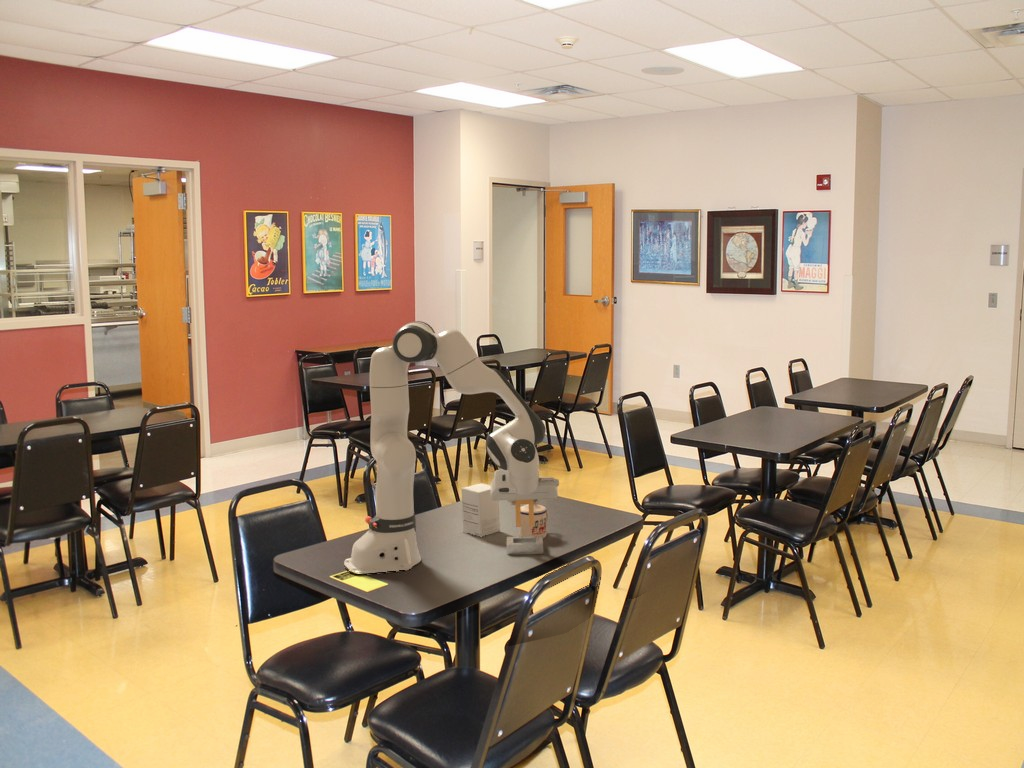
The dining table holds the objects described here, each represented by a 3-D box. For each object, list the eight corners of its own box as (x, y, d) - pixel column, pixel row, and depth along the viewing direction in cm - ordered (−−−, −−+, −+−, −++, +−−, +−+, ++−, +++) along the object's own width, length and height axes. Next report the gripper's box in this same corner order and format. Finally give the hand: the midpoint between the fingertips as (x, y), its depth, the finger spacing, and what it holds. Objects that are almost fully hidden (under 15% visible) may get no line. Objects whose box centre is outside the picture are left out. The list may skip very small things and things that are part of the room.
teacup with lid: (534, 542, 278) (534, 506, 276) (513, 536, 284) (512, 501, 282) (558, 533, 287) (558, 498, 285) (537, 528, 293) (536, 493, 291)
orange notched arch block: (533, 523, 271) (532, 485, 269) (534, 526, 268) (533, 487, 266) (516, 524, 271) (514, 485, 269) (516, 526, 268) (514, 488, 266)
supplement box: (482, 526, 296) (481, 482, 294) (500, 531, 290) (499, 486, 288) (461, 532, 290) (460, 487, 288) (480, 537, 284) (479, 492, 282)
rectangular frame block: (543, 553, 266) (543, 544, 266) (506, 554, 266) (506, 544, 266) (542, 545, 274) (542, 536, 274) (507, 546, 274) (506, 536, 274)
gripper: (558, 468, 260) (557, 492, 271) (489, 470, 260) (491, 494, 271) (559, 487, 256) (559, 510, 267) (489, 489, 256) (491, 512, 267)
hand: (524, 502), depth 269 cm, fingers closed on orange notched arch block, 5 cm apart
